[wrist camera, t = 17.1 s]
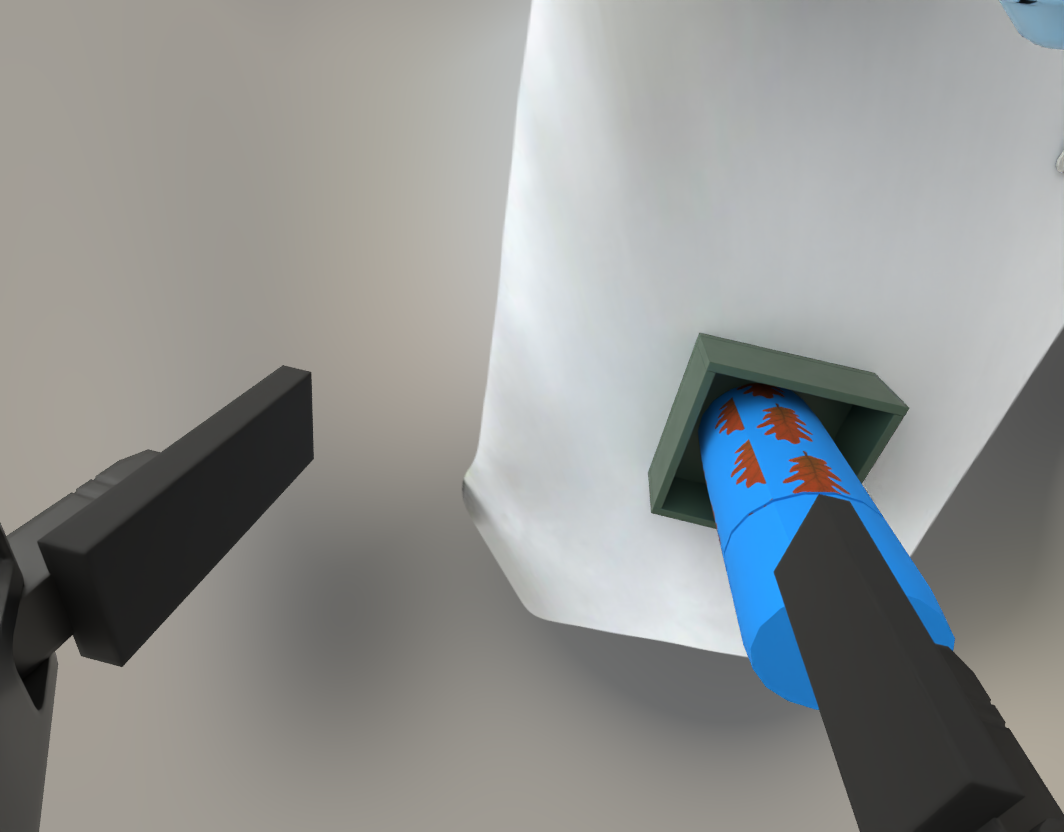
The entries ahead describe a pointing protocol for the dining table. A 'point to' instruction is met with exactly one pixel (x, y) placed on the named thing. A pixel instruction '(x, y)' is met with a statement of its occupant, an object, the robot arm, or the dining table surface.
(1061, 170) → the fork
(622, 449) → the dining table surface
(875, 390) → the box
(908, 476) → the dining table surface
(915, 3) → the dining table surface
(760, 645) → the thermos
